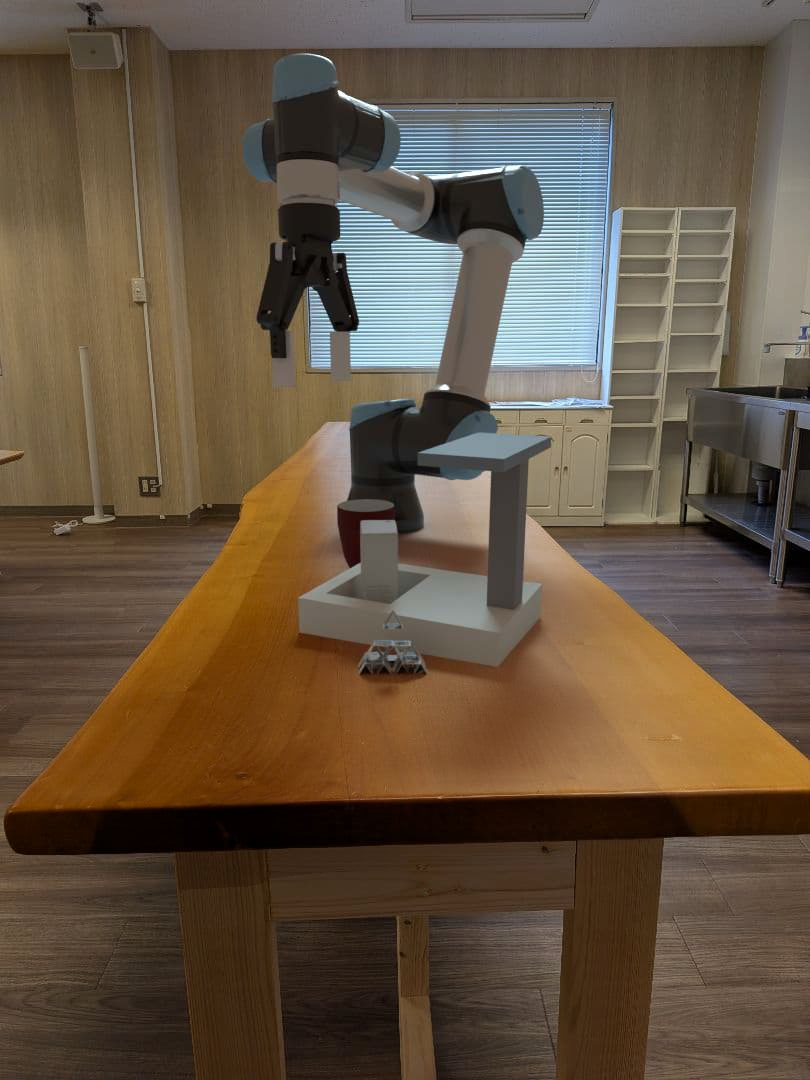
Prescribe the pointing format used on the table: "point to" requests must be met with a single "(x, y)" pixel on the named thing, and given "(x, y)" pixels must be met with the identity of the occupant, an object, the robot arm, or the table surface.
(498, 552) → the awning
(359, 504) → the mug
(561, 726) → the table surface
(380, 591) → the skincare box
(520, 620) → the socket block
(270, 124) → the robot arm
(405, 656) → the house of cards
